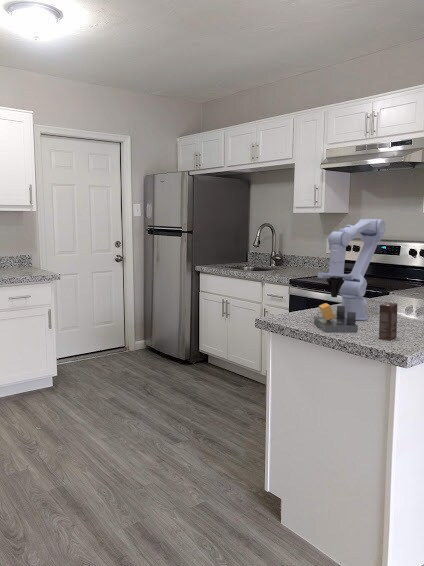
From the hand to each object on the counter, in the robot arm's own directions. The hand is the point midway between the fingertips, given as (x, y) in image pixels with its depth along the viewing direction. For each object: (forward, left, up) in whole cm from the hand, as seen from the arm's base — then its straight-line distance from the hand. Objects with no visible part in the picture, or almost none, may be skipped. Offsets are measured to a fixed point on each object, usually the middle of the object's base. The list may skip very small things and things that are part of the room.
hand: (334, 297), depth 190 cm
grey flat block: (+2, +8, -10) cm, 13 cm away
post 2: (-2, +14, -8) cm, 16 cm away
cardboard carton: (+4, +8, -8) cm, 11 cm away
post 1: (-2, +2, -8) cm, 8 cm away
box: (-12, +24, -11) cm, 28 cm away
